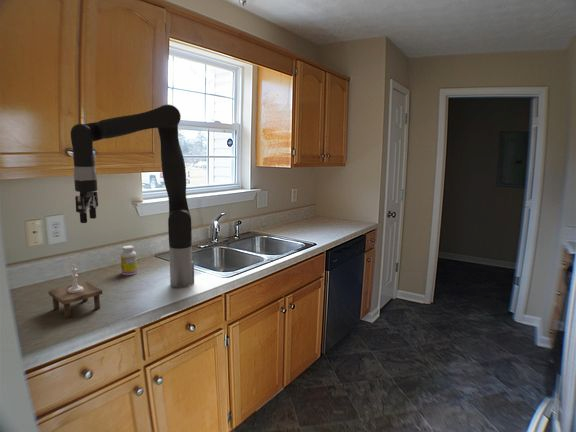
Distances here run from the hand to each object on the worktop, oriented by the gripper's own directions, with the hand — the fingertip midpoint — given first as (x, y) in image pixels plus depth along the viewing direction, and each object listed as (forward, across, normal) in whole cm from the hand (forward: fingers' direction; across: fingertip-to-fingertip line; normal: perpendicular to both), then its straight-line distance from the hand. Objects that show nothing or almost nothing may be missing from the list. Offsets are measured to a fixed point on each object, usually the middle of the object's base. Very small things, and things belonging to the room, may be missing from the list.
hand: (88, 220), depth 144 cm
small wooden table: (+30, +13, -1) cm, 33 cm away
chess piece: (+23, +13, -1) cm, 27 cm away
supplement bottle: (+30, -25, +6) cm, 40 cm away
